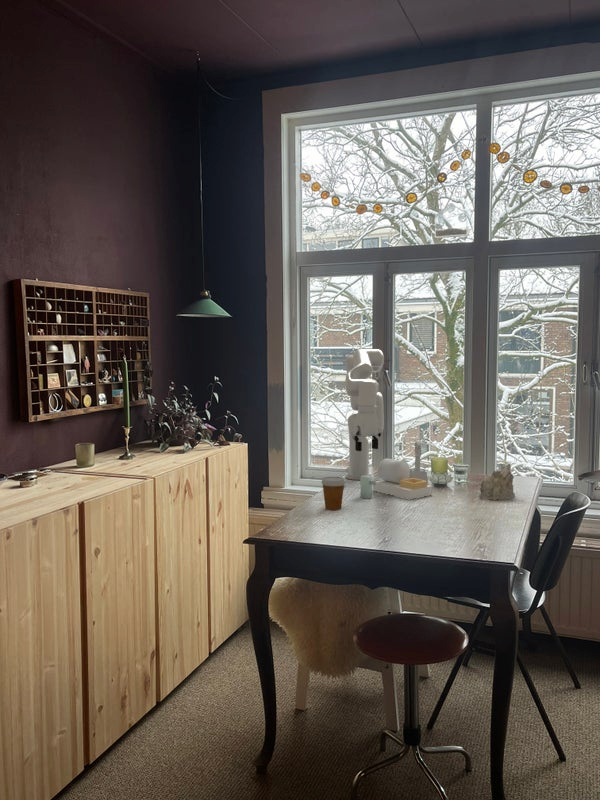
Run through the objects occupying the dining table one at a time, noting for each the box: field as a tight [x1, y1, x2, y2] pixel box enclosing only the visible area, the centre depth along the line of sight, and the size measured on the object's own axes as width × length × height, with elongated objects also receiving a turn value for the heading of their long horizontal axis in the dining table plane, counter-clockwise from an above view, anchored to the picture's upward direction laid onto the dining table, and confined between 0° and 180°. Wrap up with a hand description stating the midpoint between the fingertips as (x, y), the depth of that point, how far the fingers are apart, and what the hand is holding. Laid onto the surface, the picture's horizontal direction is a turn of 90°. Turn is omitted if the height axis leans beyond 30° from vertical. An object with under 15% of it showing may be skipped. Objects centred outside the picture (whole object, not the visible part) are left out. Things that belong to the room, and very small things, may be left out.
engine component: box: [408, 440, 429, 485], centre depth 311 cm, size 11×20×10 cm
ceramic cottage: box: [478, 463, 516, 501], centre depth 287 cm, size 16×16×15 cm
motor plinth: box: [372, 457, 433, 500], centre depth 292 cm, size 22×14×14 cm, turn 38°
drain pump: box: [359, 475, 376, 500], centre depth 283 cm, size 8×5×9 cm, turn 38°
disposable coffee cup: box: [321, 476, 346, 511], centre depth 265 cm, size 10×10×12 cm
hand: (366, 449), depth 283 cm, fingers open, 9 cm apart
